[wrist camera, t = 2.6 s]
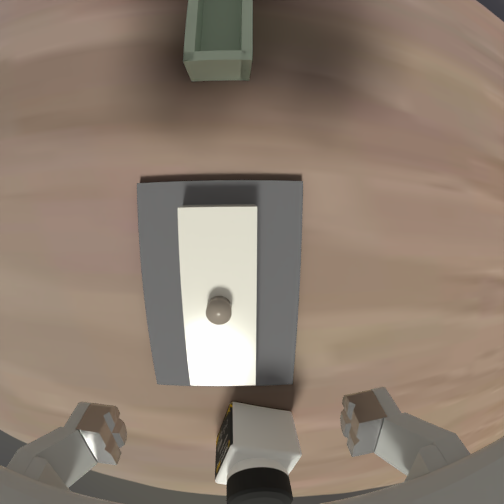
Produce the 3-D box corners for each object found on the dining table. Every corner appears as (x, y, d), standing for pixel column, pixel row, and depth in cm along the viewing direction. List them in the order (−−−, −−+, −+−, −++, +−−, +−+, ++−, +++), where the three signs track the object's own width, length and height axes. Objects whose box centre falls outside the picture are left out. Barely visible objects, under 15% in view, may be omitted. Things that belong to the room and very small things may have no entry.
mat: (158, 380, 30) (157, 384, 29) (139, 183, 25) (137, 183, 25) (291, 379, 31) (292, 383, 30) (300, 181, 26) (302, 181, 25)
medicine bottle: (230, 399, 31) (231, 486, 19) (292, 410, 32) (313, 492, 20) (215, 439, 32) (213, 519, 21) (271, 448, 33) (283, 524, 21)
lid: (193, 370, 29) (189, 392, 25) (182, 205, 25) (174, 209, 22) (253, 370, 29) (256, 392, 26) (255, 204, 26) (258, 208, 22)
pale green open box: (191, 81, 24) (182, 61, 19) (200, -31, 21) (196, -59, 16) (249, 80, 24) (252, 59, 19) (250, -32, 21) (253, -61, 16)
